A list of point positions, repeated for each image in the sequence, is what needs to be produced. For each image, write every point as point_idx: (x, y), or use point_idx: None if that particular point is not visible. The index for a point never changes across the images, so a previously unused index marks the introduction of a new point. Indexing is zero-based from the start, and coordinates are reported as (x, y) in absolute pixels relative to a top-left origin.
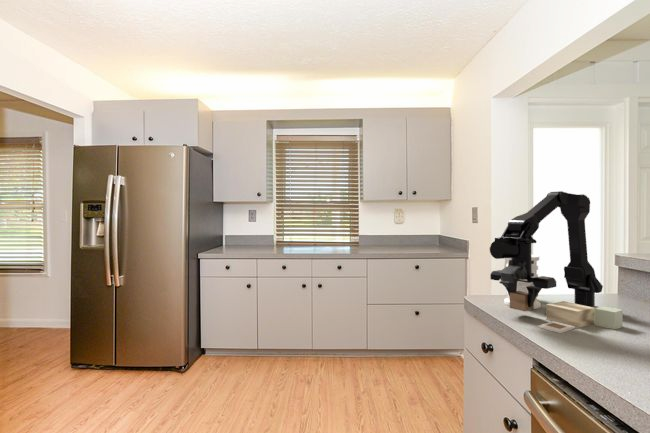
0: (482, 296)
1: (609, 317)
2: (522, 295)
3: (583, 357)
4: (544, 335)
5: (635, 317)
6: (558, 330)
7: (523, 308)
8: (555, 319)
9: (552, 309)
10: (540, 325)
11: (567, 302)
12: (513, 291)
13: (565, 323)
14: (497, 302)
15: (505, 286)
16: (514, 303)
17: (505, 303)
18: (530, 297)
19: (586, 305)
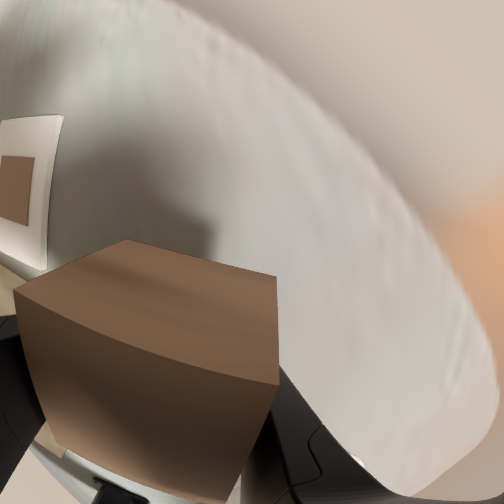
0: (444, 467)
1: None
2: (37, 298)
3: (4, 4)
4: (46, 38)
5: (31, 446)
6: (5, 124)
7: (125, 247)
8: None
9: None
10: (51, 127)
11: (39, 440)
12: (255, 474)
13: (16, 278)
14: (394, 455)
15: (393, 500)
16: (210, 282)
17: (358, 460)
18: (11, 319)
19: (101, 492)
